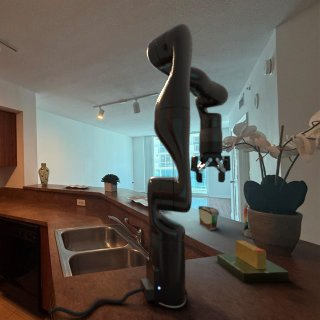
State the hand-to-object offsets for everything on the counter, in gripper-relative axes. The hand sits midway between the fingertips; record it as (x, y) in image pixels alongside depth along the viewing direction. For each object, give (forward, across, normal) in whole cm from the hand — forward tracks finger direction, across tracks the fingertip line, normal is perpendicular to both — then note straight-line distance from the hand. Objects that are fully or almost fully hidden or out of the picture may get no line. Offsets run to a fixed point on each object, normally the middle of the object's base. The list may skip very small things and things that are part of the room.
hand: (210, 182), depth 75 cm
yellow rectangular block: (+25, -5, +12) cm, 28 cm away
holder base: (+28, -5, +12) cm, 31 cm away
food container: (+28, -19, -26) cm, 43 cm away
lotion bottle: (+28, -30, -14) cm, 44 cm away
